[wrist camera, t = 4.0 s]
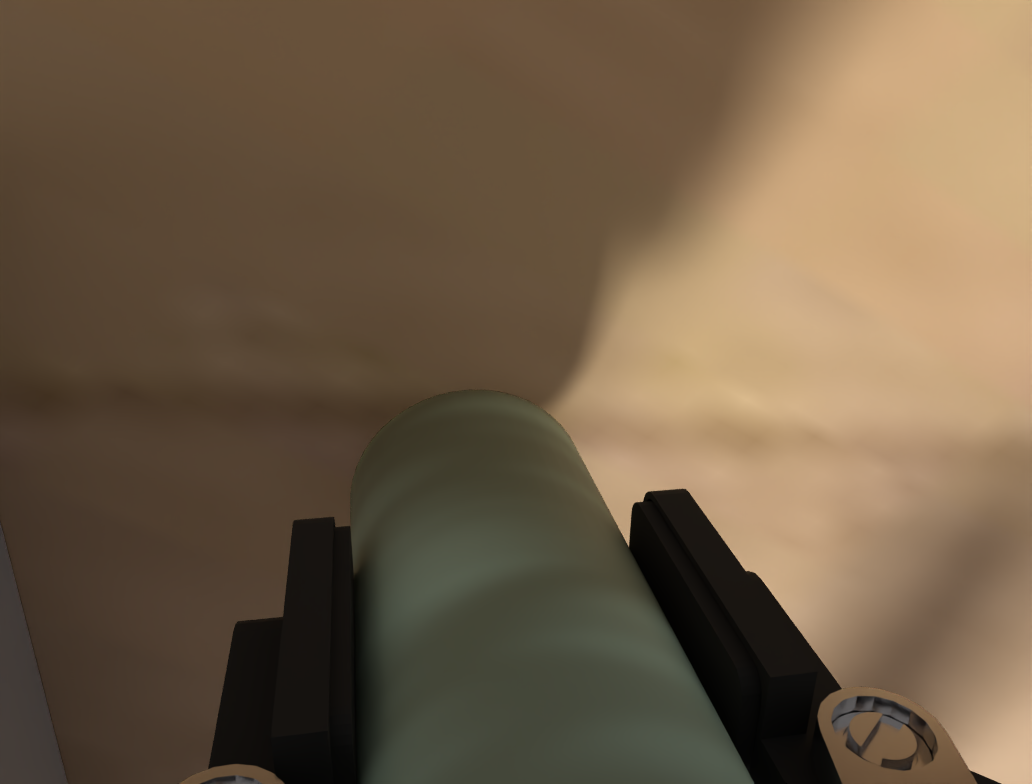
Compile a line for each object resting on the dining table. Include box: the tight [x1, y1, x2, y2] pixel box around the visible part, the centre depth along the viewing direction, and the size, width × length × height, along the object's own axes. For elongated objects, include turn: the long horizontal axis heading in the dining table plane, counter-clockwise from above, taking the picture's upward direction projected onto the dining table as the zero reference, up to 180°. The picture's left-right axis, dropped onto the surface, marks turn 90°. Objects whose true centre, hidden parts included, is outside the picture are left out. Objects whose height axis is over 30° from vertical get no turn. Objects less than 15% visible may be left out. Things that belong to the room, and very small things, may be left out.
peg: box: [350, 390, 754, 784], centre depth 10 cm, size 4×4×10 cm
